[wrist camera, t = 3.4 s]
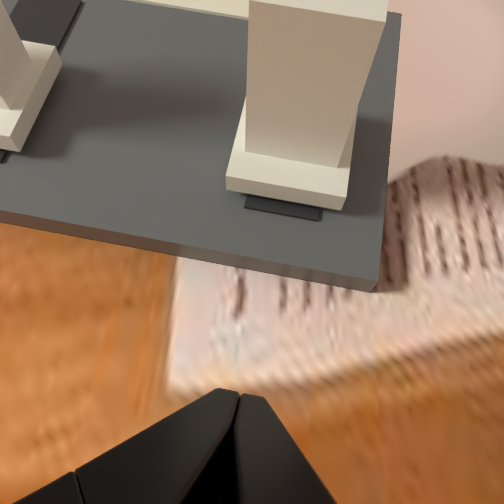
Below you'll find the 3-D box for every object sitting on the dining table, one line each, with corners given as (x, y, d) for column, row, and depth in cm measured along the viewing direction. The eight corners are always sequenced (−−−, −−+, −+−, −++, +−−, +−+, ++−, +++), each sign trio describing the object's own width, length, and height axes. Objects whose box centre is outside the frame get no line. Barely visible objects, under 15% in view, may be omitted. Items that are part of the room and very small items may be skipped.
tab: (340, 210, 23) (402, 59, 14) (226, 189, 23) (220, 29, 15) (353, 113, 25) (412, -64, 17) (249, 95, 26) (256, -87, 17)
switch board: (370, 292, 23) (380, 278, 22) (-131, 197, 25) (-158, 177, 23) (394, 33, 31) (403, 8, 29) (8, -29, 32) (-4, -57, 30)
